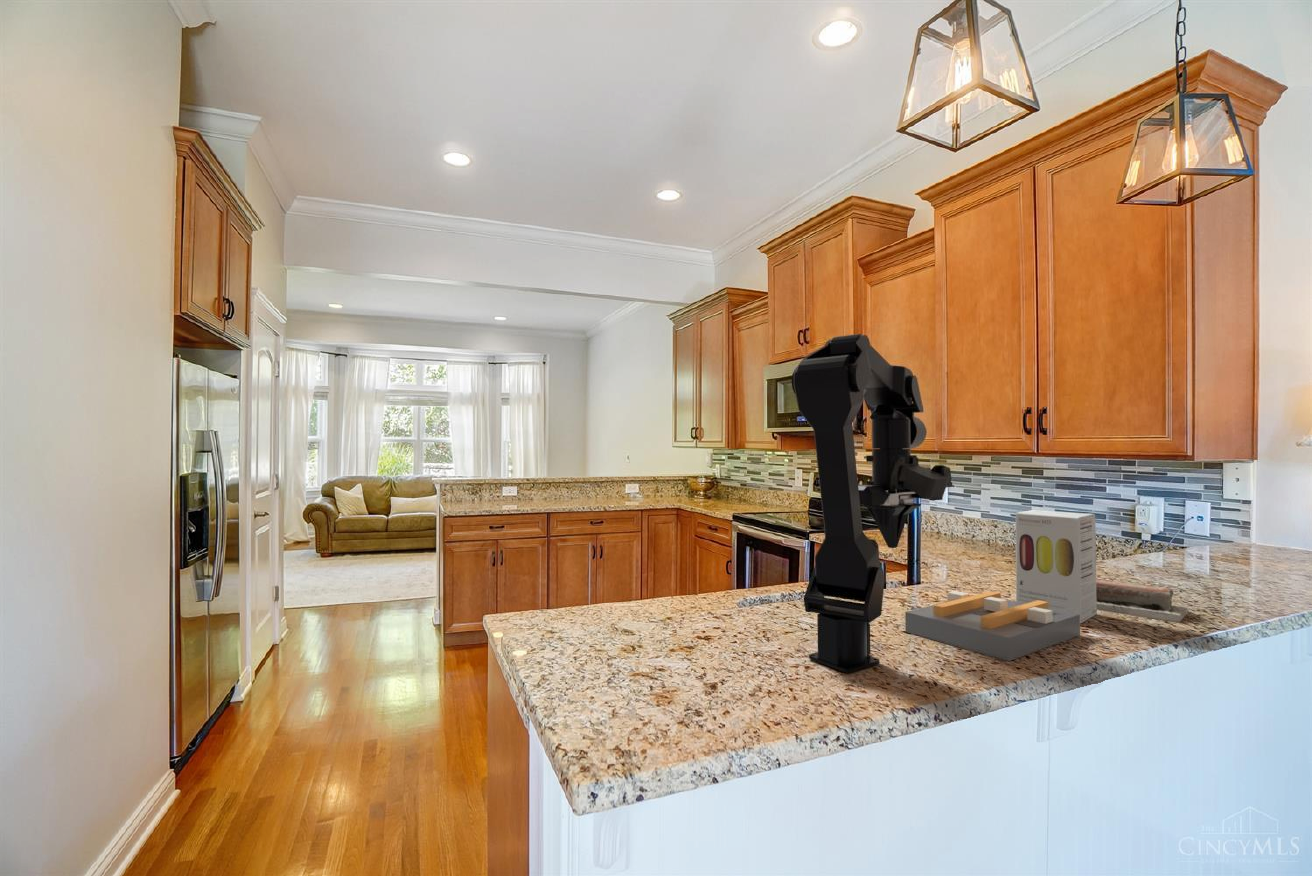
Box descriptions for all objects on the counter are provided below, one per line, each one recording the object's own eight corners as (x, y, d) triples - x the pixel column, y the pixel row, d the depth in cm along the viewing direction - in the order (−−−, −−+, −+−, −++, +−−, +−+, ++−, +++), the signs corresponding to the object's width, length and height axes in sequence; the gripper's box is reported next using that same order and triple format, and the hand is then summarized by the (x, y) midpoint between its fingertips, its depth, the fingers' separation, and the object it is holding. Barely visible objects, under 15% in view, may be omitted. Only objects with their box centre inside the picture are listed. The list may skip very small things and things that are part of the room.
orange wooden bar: (942, 617, 86) (942, 607, 87) (933, 614, 88) (933, 605, 88) (1000, 601, 95) (1000, 593, 95) (991, 600, 96) (991, 591, 96)
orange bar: (990, 629, 81) (990, 618, 81) (980, 626, 82) (980, 616, 82) (1048, 611, 89) (1048, 602, 89) (1038, 609, 90) (1038, 600, 90)
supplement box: (1014, 612, 100) (1012, 512, 100) (1033, 603, 106) (1031, 508, 106) (1082, 625, 92) (1079, 516, 93) (1099, 614, 98) (1096, 512, 99)
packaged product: (1047, 577, 107) (1063, 570, 113) (1048, 604, 107) (1064, 595, 113) (1179, 594, 93) (1189, 585, 100) (1180, 625, 93) (1190, 614, 100)
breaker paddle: (1000, 612, 88) (1000, 601, 88) (984, 609, 90) (983, 598, 90) (1007, 610, 89) (1007, 600, 89) (991, 607, 91) (990, 596, 91)
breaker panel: (1008, 661, 77) (1008, 625, 77) (905, 631, 89) (905, 601, 89) (1080, 635, 87) (1079, 603, 88) (978, 612, 100) (978, 584, 100)
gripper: (899, 448, 82) (901, 561, 82) (973, 448, 92) (975, 549, 92) (835, 449, 92) (836, 550, 91) (909, 449, 102) (911, 540, 101)
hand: (892, 547), depth 94 cm, fingers closed
